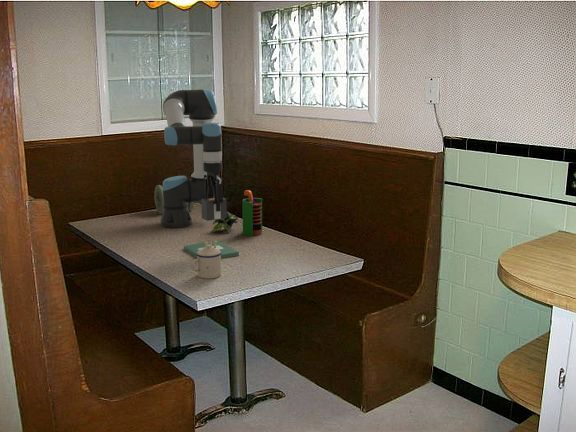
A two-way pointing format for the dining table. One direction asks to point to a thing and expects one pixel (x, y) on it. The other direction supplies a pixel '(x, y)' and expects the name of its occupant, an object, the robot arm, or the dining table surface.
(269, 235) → the dining table surface
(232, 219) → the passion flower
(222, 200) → the robot arm
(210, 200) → the plug housing
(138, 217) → the dining table surface
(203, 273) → the teacup with lid
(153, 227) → the dining table surface
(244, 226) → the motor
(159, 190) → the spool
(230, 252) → the header board
